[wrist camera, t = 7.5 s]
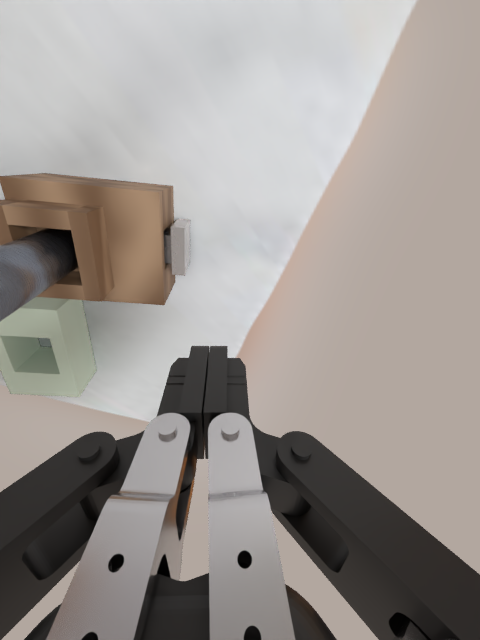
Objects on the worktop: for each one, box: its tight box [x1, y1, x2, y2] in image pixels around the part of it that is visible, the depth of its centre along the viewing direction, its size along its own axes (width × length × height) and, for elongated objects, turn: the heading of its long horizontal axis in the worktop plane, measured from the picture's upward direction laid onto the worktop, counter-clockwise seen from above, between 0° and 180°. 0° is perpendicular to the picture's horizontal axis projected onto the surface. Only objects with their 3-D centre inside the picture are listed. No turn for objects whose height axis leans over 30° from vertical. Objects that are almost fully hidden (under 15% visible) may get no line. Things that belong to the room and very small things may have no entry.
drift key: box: [163, 219, 190, 276], centre depth 27 cm, size 12×4×4 cm, turn 85°
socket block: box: [0, 173, 175, 305], centre depth 25 cm, size 12×10×9 cm
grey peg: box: [0, 228, 78, 321], centre depth 19 cm, size 4×4×12 cm
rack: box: [0, 297, 97, 397], centre depth 33 cm, size 8×12×5 cm, turn 175°
